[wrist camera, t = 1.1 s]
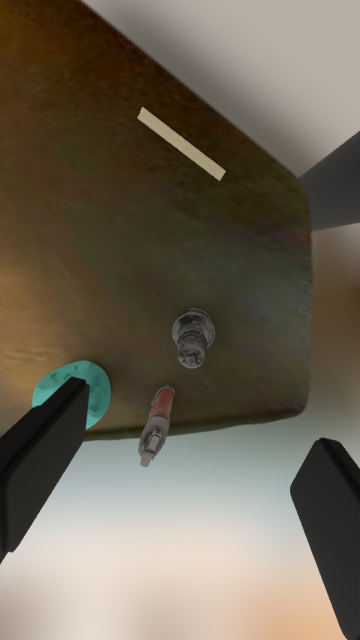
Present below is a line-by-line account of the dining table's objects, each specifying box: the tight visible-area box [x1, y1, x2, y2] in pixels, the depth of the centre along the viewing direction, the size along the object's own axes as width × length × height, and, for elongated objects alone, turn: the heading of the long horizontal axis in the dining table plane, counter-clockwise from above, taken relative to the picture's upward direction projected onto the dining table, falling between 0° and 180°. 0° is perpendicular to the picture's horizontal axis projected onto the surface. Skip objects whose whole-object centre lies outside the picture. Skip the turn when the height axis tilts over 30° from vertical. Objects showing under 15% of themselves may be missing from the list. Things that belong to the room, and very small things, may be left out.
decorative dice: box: [32, 360, 111, 429], centre depth 33 cm, size 8×8×8 cm
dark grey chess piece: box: [172, 308, 215, 368], centre depth 26 cm, size 6×6×12 cm
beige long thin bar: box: [138, 107, 226, 181], centre depth 25 cm, size 12×1×1 cm, turn 56°
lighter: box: [138, 385, 175, 467], centre depth 32 cm, size 8×3×10 cm, turn 159°
